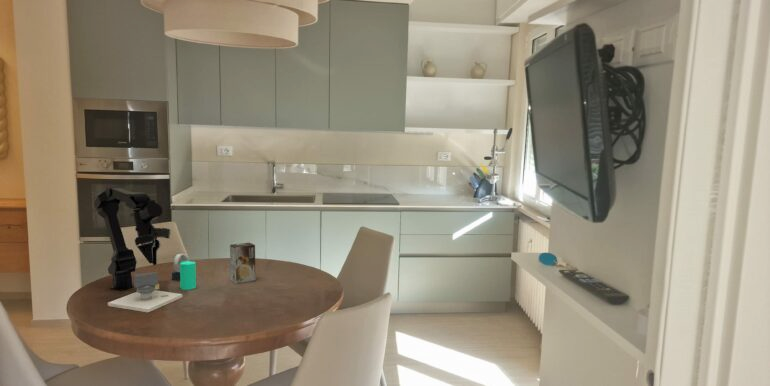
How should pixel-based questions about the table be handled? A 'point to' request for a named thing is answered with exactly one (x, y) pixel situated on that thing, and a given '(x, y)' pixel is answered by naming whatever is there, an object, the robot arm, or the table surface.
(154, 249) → the robot arm
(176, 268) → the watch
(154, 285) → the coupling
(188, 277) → the candle
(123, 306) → the post plate
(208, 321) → the table surface
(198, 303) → the table surface
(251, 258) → the coffee box
